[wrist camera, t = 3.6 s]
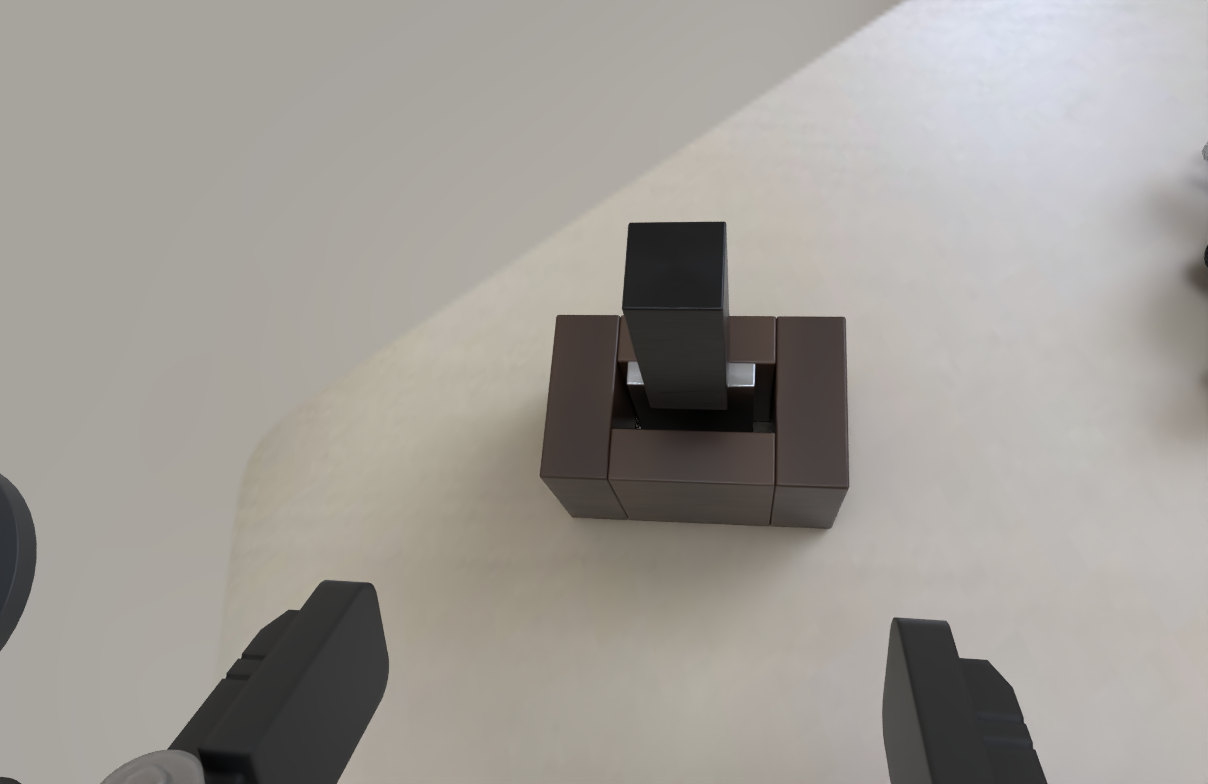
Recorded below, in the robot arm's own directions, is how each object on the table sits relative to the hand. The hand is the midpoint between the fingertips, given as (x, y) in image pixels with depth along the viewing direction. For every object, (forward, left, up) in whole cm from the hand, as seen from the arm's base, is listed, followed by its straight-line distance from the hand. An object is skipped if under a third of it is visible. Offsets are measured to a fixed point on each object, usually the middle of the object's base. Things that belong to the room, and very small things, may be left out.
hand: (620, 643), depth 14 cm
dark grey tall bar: (0, +9, -20) cm, 22 cm away
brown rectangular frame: (0, +9, -20) cm, 22 cm away
